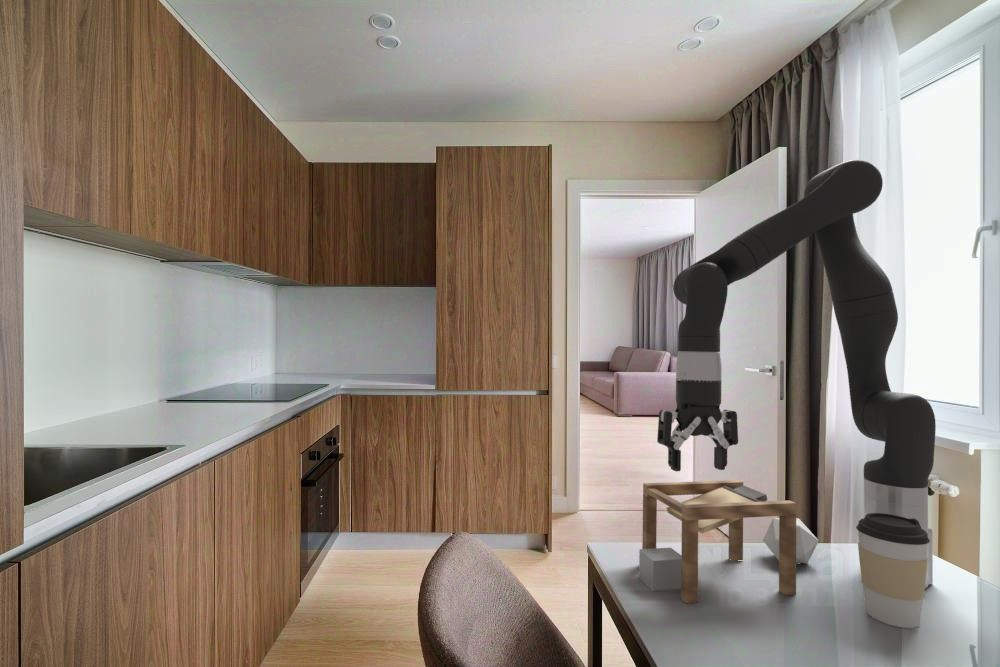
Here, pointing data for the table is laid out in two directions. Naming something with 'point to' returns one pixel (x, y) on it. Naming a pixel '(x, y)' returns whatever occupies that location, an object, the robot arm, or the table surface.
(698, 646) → the table surface
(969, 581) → the table surface
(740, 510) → the frame
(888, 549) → the coffee cup
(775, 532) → the die
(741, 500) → the trapdoor
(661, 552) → the grey block
